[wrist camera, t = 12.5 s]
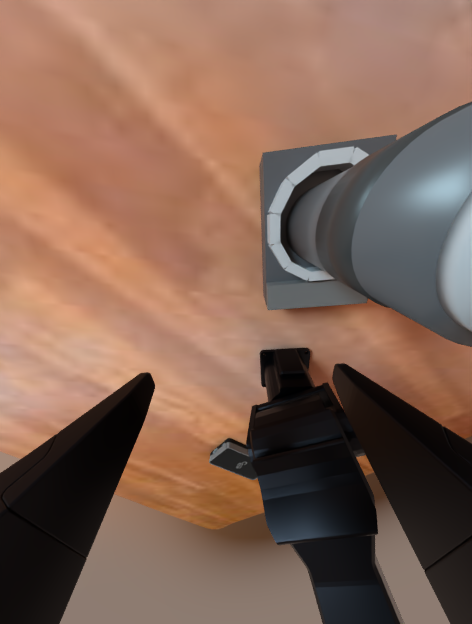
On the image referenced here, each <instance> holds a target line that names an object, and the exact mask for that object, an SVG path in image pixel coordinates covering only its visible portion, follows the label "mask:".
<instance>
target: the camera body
mask: <svg viewBox="0 0 472 624" xmlns="http://www.w3.org/2000/svg"><path fill="white" fill-rule="evenodd" d="M396 137H397V135H389V136H382V137H375V138H368V139H360V140H353V141H346V142H338V143H331V144H324V145H317V146H309V147H302V148H295V149H287V150H280V151H273V152H265V153H263V155H262V158H261V162H260V196H261V228H262V260H263V292H264V298H265V302H266V305H267V309H268V310H277V309H291V308H305V307H319V306H333V305H347V304H361V303H367V300H368V298H367V297H365V296H363V295H362V294H360V293H358V292H357V291H355V290H353V289H351V288H350V287H348V286H346V285H345V284H343V283H341V282H339V281H338V280H336V279H334V278H333V277H332V276H331V275H329V274H328V273H327V272H326V271H324V270H322V269H320V268H319V267H317V266H315V265H313V264H311V263H310V262H308V261H306V260H304V259H302V258H301V257H299V256H297V255H296V254H295V253H294V252H293V251H292V249H291V248H290V246H289V244H288V242H287V238H286V222H287V218H288V215H289V213H290V210H291V208H292V207H293V205H294V204H295V202H296V201H297V200H298V199H299V198H300V196H302V195H303V194H304V193H305V192H307V191H308V190H310V189H312V188H313V187H315V186H317V185H319V184H321V183H323V182H325V181H327V180H329V179H331V178H333V177H334V176H336V175H338V174H340V173H342V172H344V171H346V170H348V169H350V168H352V167H353V166H354V165H355V164H357V163H358V162H359V161H361V160H362V159H364V158H365V157H367V156H369V155H371V154H372V153H374V152H376V151H378V150H380V149H381V148H383V147H385V146H387V145H389V144H391V143H392V142H394V141H396Z"/></svg>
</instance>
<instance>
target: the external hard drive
mask: <svg viewBox="0 0 472 624" xmlns="http://www.w3.org/2000/svg"><path fill="white" fill-rule="evenodd" d="M247 450H248V448H247V446H246V445H244V444H242V443H239V442H237V441H235V440H232V439H230V438H229V439H227V440H226V441H224V442H223V443H222V444H221V445H220V446H218V447H217V448H216V449H215V450H213V451H212V452H211V454H210V460H209V463H210V464H212V465H215V466H217V467H220V468H223V469H225V470H228V471H230V472H233V473H235V474H238V475H240V476H243V477H246V478H248V479H251V480H255V479H257V478H258V477H257V474H256V473H255V471H254V469H253V467H252V464H251V461H250V457H249V456H248V452H247Z"/></svg>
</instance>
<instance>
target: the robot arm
mask: <svg viewBox="0 0 472 624" xmlns="http://www.w3.org/2000/svg"><path fill="white" fill-rule="evenodd" d="M306 351H307V352H306ZM263 354H264V355H263ZM309 360H310V350H309V349H308V348H294V349H276V350H262V351H261V352H260V364H261V384H262V386H263V387H266V389H267V396H268V402H266V403H263V404H260V405H254V406H252V410H251V416H250V422H249V428H248V435H247V441H246V444H247V448H248V450H247V452H248V456H249V457H250V461H251V464H252V467H253V469H254V471H255V473H256V474H257V477H258V481H259V485H260V489H261V494H262V499H263V505H264V511H265V516H266V522H267V526H268V528H269V530H270V532H271V534H272V536H273V537H274V540H275V541H276V543H277V544H278V545H285V544H290V545H291V546H292V548H293V549H294V550H295V552H296V553H297V555H298V556H299V558H300V559H301V560H302V562H303V563H304V565H305V566H306V568H307V570H308V573H309V576H310V579H311V582H312V586H313V590H314V594H315V597H316V601H317V604H318V608H319V611H320V615H321V619H322V622H323V624H404V621H403V619H402V617H401V614H400V612H399V610H398V607H397V605H396V602H395V600H394V598H393V595H392V593H391V591H390V588H389V586H388V583H387V581H386V579H385V576H384V574H383V572H382V569H381V567H380V564H379V562H378V560H377V557H376V555H375V535H377V534H378V529H377V515H376V508H375V500H374V495H373V492H372V490H371V488H370V486H369V484H368V482H367V480H366V478H365V475H364V473H363V471H362V469H361V467H360V465H359V463H358V461H357V459H356V457H359V456H364V455H365V454H366V456H367V458H368V460H369V462H370V464H371V466H372V468H373V470H374V472H375V474H376V476H377V478H378V480H379V482H380V484H381V486H382V488H383V490H384V492H385V494H386V496H387V498H388V500H389V502H390V504H391V506H392V508H393V510H394V512H395V514H396V516H397V518H398V520H399V522H400V524H401V526H402V528H403V530H404V532H405V534H406V536H407V538H408V540H409V542H410V544H411V546H412V548H413V550H414V552H415V554H416V556H417V557H418V560H419V561H420V564H421V566H422V568H423V569H424V570H425V574H426V576H427V578H428V580H429V582H430V584H431V586H432V588H433V590H434V592H435V594H436V596H437V598H438V600H439V602H440V603H441V606H442V608H443V610H444V612H445V614H446V616H447V618H448V620H449V622H450V624H472V444H471V443H470V442H468V441H467V440H465V439H463V438H462V437H460V436H459V435H457V434H455V433H454V432H452V431H451V430H449V429H448V428H446V427H442V425H441V424H440V423H438V422H436V421H435V420H433V419H432V418H430V417H429V416H427V415H425V414H424V413H422V412H421V411H419V410H418V409H416V408H414V407H413V406H411V405H410V404H408V403H407V402H405V401H403V400H402V399H400V398H399V397H397V396H396V395H394V394H392V393H391V392H389V391H388V390H386V389H385V388H383V387H381V386H380V385H378V384H377V383H375V382H374V381H372V380H370V379H369V378H367V377H366V376H364V375H362V374H361V373H359V372H358V371H356V370H355V369H353V368H351V367H350V366H348V365H347V364H344V363H342V364H335V366H334V371H333V377H332V379H333V383H334V385H335V388H336V391H337V393H338V396H339V398H340V401H341V404H342V406H343V408H342V407H341V405H340V403H339V402H338V400H337V398H336V396H335V395H334V393H333V391H332V389H331V388H330V386H329V384H328V383H323V385H320V386H317V387H315V385H314V383H313V381H312V378H311V376H310V374H309V372H308V369H309ZM154 389H155V383H154V381H153V378H152V376H151V374H150V373H140V374H139V375H137V376H136V377H135V378H133V379H132V380H131V381H129V382H128V383H126V384H125V385H124V386H122V387H121V388H119V389H118V390H117V391H115V392H114V393H113V394H111V395H110V396H108V397H107V398H106V399H104V400H103V401H101V402H100V403H99V404H97V405H96V406H95V407H93V408H92V409H90V410H89V411H88V412H86V413H85V414H84V415H82V416H81V417H79V418H78V419H77V420H75V421H74V422H72V423H71V424H70V425H68V426H67V427H66V428H64V429H63V430H61V431H60V432H59V433H58V434H56V435H54V436H53V437H52V438H50V439H49V440H48V441H46V442H45V443H43V444H42V445H41V446H39V447H38V448H36V449H35V450H33V451H32V452H31V453H29V454H28V455H26V456H25V457H23V458H22V459H20V460H19V461H18V462H16V463H15V464H13V465H12V466H10V467H9V468H7V469H6V470H4V471H3V472H1V473H0V624H59V623H60V621H61V619H62V616H63V614H64V611H65V609H66V607H67V604H68V602H69V600H70V597H71V595H72V592H73V590H74V588H75V585H76V583H77V581H78V578H79V576H80V574H81V571H82V569H83V566H84V564H85V562H86V557H87V556H88V554H89V551H90V549H91V547H92V544H93V542H94V540H95V537H96V535H97V532H98V530H99V528H100V526H101V523H102V521H103V518H104V516H105V514H106V511H107V509H108V507H109V504H110V502H111V499H112V497H113V495H114V492H115V490H116V487H117V485H118V483H119V480H120V478H121V476H122V473H123V471H124V468H125V466H126V464H127V461H128V459H129V457H130V454H131V452H132V449H133V447H134V445H135V442H136V440H137V438H138V435H139V433H140V430H141V428H142V426H143V423H144V421H145V418H146V415H147V412H148V409H149V405H150V402H151V399H152V396H153V393H154ZM343 409H344V410H343ZM344 411H345V412H344Z"/></svg>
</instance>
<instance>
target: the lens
mask: <svg viewBox="0 0 472 624" xmlns="http://www.w3.org/2000/svg"><path fill="white" fill-rule="evenodd" d="M286 238H287V242H288V244H289V246H290V248H291V249H292V251H293V252H294V253H295V254H296V255H297V256H299V257H301V258H302V259H304V260H306V261H308V262H310V263H311V264H313V265H315V266H317V267H319V268H320V269H322V270H324V271H326V272H327V273H328V274H329V275H331V276H332V277H333V278H334V279H336V280H338V281H339V282H341V283H343V284H345V285H346V286H348V287H350V288H351V289H353V290H355V291H357V292H358V293H360V294H362V295H363V296H365V297H367V298H369V299H370V300H372V301H374V302H375V303H377V304H380V305H382V306H385V307H388V308H392V309H394V310H396V311H397V312H399V313H401V314H403V315H404V316H406V317H408V318H410V319H412V320H413V321H415V322H417V323H419V324H421V325H422V326H424V327H426V328H428V329H430V330H431V331H433V332H435V333H437V334H438V335H440V336H442V337H444V338H446V339H448V340H450V341H453V342H455V343H458V344H462V345H466V346H470V347H472V102H470V103H467V104H465V105H462V106H459V107H457V108H455V109H453V110H451V111H449V112H448V113H446V114H444V115H442V116H440V117H438V118H436V119H434V120H433V121H431V122H429V123H427V124H425V125H423V126H422V127H420V128H418V129H416V130H414V131H412V132H411V133H409V134H407V135H405V136H403V137H402V138H400V139H398V140H396V141H394V142H392V143H391V144H389V145H387V146H385V147H383V148H381V149H380V150H378V151H376V152H374V153H372V154H371V155H369V156H367V157H365V158H364V159H362V160H361V161H359V162H358V163H357V164H355V165H354V166H353V167H352V168H350V169H348V170H346V171H344V172H342V173H340V174H338V175H336V176H334V177H333V178H331V179H329V180H327V181H325V182H323V183H321V184H319V185H317V186H315V187H313V188H312V189H310V190H308V191H307V192H305V193H304V194H303V195H302V196H300V198H299V199H298V200H297V201H296V202H295V204H294V205H293V207H292V208H291V210H290V213H289V215H288V218H287V222H286Z"/></svg>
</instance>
